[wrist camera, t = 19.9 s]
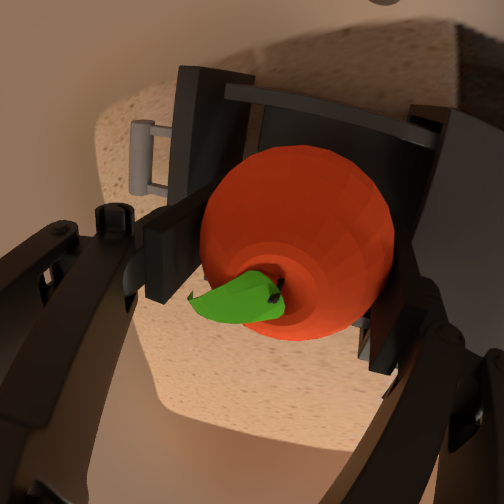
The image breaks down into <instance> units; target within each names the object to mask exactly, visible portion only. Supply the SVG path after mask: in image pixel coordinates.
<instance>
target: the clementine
mask: <svg viewBox="0 0 504 504" xmlns="http://www.w3.org/2000/svg"><path fill="white" fill-rule="evenodd" d="M393 253H394V227H393V223H392V219H391V215H390V211H389V207H388V205H387V203H386V202H385V200H384V198H383V197H382V195H381V193H380V192H379V190H378V188H377V187H376V185H375V183H374V182H373V181H372V180H371V179H370V178H369V177H368V176H367V175H366V174H365V173H364V172H363V171H362V170H361V169H360V168H359V167H358V166H356V165H355V164H354V163H353V162H352V161H350V160H348V159H346V158H344V157H342V156H340V155H338V154H337V153H335V152H333V151H331V150H327V149H323V148H318V147H313V146H308V145H296V146H282V147H273V148H270V149H267V150H265V151H262V152H259V153H257V154H254V155H251V156H249V157H248V158H246V159H245V160H244V161H242V162H241V163H240V164H238V165H237V166H236V167H234V168H233V169H232V170H231V171H230V172H229V173H228V174H227V175H226V176H225V177H224V179H223V180H222V181H221V183H220V184H219V185H218V187H217V188H216V190H215V191H214V192H213V194H212V195H211V197H210V198H209V200H208V203H207V206H206V209H205V212H204V215H203V218H202V222H201V230H200V252H199V254H200V258H201V263H202V267H203V271H204V275H205V277H206V279H207V280H208V282H209V284H210V286H211V288H212V290H211V291H209V292H207V293H206V294H204V295H202V296H200V297H197V298H194V299H193V291H192V292H191V293H190V295H189V296H188V298H187V299H188V301H189V302H190V304H191V305H192V307H193V308H194V309H195V311H196V312H197V314H199V315H201V316H203V317H205V318H207V319H210V320H213V321H216V322H222V323H230V324H240V323H241V324H243V325H244V326H246V327H248V328H249V329H251V330H253V331H255V332H257V333H259V334H261V335H265V336H268V337H272V338H275V339H279V340H289V341H303V340H310V339H317V338H321V337H325V336H328V335H331V334H333V333H336V332H338V331H341V330H343V329H346V328H347V327H348V326H350V325H351V324H352V323H354V322H355V321H357V320H358V319H359V318H361V317H362V316H363V315H364V314H365V312H366V311H367V310H368V309H369V308H370V307H371V305H372V304H373V303H374V301H375V300H376V299H377V297H378V296H379V295H380V293H381V292H382V291H383V289H384V287H385V285H386V282H387V279H388V277H389V274H390V271H391V268H392V263H393Z"/></svg>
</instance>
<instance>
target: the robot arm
mask: <svg viewBox="0 0 504 504" xmlns="http://www.w3.org/2000/svg"><path fill="white" fill-rule="evenodd" d="M226 175H227V173H225V174H223V175H221V176H220V177H218V178H216V179H215V180H213V181H211V182H210V183H208V184H207V185H205V186H203V187H202V188H200V189H198V190H197V191H195V192H194V193H192V194H190V195H189V196H187V197H186V198H184V199H183V200H181V201H179V202H178V203H176V204H175V205H173V206H171V205H166V206H163V207H159V208H157V209H155V210H153V211H152V212H150V214H147V215H145V216H144V217H143V218H141V219H139V220H138V221H136V222H135V215H134V208H133V207H132V206H131V205H128V204H125V203H108V204H104V205H101V206H99V207H97V208H96V209H95V218H96V231H97V233H96V234H95V235H94V237H89V236H80V235H79V231H78V225H77V224H76V223H75V222H72V221H67V220H59V221H57V222H53V223H51V224H49V225H47V226H46V227H44V228H43V229H41V230H40V231H38V232H37V233H35V234H34V235H32V236H31V237H29V238H28V239H27V240H25V241H24V242H22V243H21V244H20V245H18V246H17V247H15V248H14V249H13V250H11V251H10V252H9V253H7V254H6V255H4V256H3V257H2V258H0V504H88V501H89V494H88V487H87V471H88V467H89V463H90V458H91V454H92V450H93V446H94V442H95V438H96V434H97V430H98V426H99V423H100V418H101V415H102V412H103V408H104V404H105V401H106V397H107V394H108V390H109V387H110V384H111V380H112V377H113V374H114V370H115V367H116V364H117V361H118V358H119V355H120V352H121V348H122V345H123V343H124V340H125V337H126V333H127V331H128V328H129V325H130V322H131V319H132V316H133V314H134V311H135V308H136V305H137V302H138V290H139V289H140V288H141V287H142V286H143V285H144V284H145V297H146V298H148V299H151V300H153V301H156V302H158V303H161V304H163V305H164V304H165V303H166V302H167V301H168V300H169V299H170V298H171V297H172V295H173V294H174V293H175V292H176V291H177V290H178V289H179V288H180V287H181V285H182V284H183V283H184V282H185V281H186V280H187V279H188V278H189V277H190V275H191V274H192V273H193V272H194V271H195V270H196V269H197V268H198V267H199V266H200V265H201V258H200V254H199V252H200V230H201V222H202V218H203V215H204V212H205V209H206V206H207V203H208V200H209V198H210V197H211V195H212V194H213V192H214V191H215V190H216V188H217V187H218V185H219V184H220V183H221V181H222V180H223V179H224V177H225V176H226ZM391 219H392V223H393V227H394V253H393V263H392V268H391V271H390V274H389V277H388V279H387V282H386V285H385V287H384V289H383V291H382V292H381V293H380V295H379V296H378V297H377V299H376V300H375V301H374V303H373V304H372V305H371V328H370V354H369V371H372V372H376V373H380V374H384V375H389V376H390V375H391V373H392V372H393V370H394V369H395V367H396V366H397V364H398V375H397V377H396V378H395V379H394V381H393V382H392V384H391V385H390V387H389V388H388V390H387V391H386V392H385V394H384V395H383V397H382V399H384V400H383V402H382V403H381V405H380V407H379V409H378V411H377V413H376V415H375V416H374V418H373V420H372V422H371V424H370V425H369V427H368V429H367V431H366V432H365V434H364V436H363V437H362V439H361V441H360V442H359V444H358V446H357V447H356V449H355V451H354V452H353V454H352V455H351V457H350V459H349V460H348V462H347V463H346V465H345V466H344V468H343V469H342V471H341V472H340V474H339V475H338V477H337V478H336V480H335V481H334V483H333V484H332V485H331V487H330V488H329V490H328V491H327V492H326V494H325V495H324V497H323V498H322V499H321V501H320V502H319V503H318V504H419V502H420V500H421V498H422V495H423V493H424V491H425V488H426V486H427V483H428V481H429V478H430V476H431V473H432V471H433V468H434V465H435V462H436V460H437V457H438V454H439V462H438V471H437V480H436V487H435V494H434V501H433V504H504V351H502V350H500V349H497V348H492V349H489V350H488V352H487V353H486V354H485V356H484V357H481V356H479V355H477V354H475V353H473V352H472V351H470V350H468V349H466V348H465V345H466V343H465V338H464V336H463V334H462V332H461V331H460V330H459V329H458V328H457V327H455V326H454V325H452V324H451V323H449V320H448V317H447V313H446V310H445V306H444V305H443V300H442V298H441V293H440V290H439V287H438V286H437V285H436V284H435V282H434V281H433V280H432V279H430V278H427V277H424V276H421V275H420V271H419V268H418V264H417V260H416V257H415V253H414V250H413V247H412V243H411V240H410V237H409V234H408V231H407V228H406V225H405V222H404V221H401V220H397V219H394V218H391ZM48 268H49V270H50V275H51V279H52V281H51V282H49V283H48V284H46V282H45V278H44V274H43V272H45V271H46V270H47V269H48ZM482 415H483V417H482V423H481V425H480V417H481V416H482Z"/></svg>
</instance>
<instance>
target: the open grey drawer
mask: <svg viewBox="0 0 504 504" xmlns="http://www.w3.org/2000/svg"><path fill="white" fill-rule="evenodd" d="M254 82H255V76H254V75H249V74H244V73H238V72H233V71H227V70H221V69H214V68H207V67H200V66H183V65H182V66H179V70H178V78H177V86H176V94H175V104H174V113H173V123H172V127H167V126H159V125H155V121H152V120H134V121H132V122H131V130H130V153H129V193H130V194H131V195H135V196H144V195H148V194H154V195H158V196H162V197H166V198H167V205H171V206H173V205H175V204H176V203H178V202H179V201H181V200H183V199H184V198H186V197H187V196H189V195H190V194H192V193H194V192H195V191H197V190H198V189H200V188H202V187H203V186H205V185H207V184H208V183H210V182H211V181H213V180H215V179H216V178H218V177H220V176H221V175H223V174H225V173H227V174H228V173H229V172H230V171H231V170H232V169H233V168H234V167H236V166H237V165H238V164H240V163H241V162H242V160H243V153H244V147H245V140H246V134H247V127H248V120H249V114H250V108H251V103H254V104H260V105H265V109H264V115H263V122H262V128H261V134H260V140H259V146H258V152H257V153H259V152H262V151H265V150H267V149H270V148H273V147H282V146H296V145H308V146H313V147H318V148H323V149H327V150H331V151H333V152H335V153H337V154H338V155H340V156H342V157H344V158H346V159H348V160H350V161H352V162H353V163H354V164H355V165H356V166H358V167H359V168H360V169H361V170H362V171H363V172H364V173H365V174H366V175H367V176H368V177H369V178H370V179H371V180H372V181H373V182H374V183H375V185H376V187H377V188H378V190H379V192H380V193H381V195H382V197H383V198H384V200H385V202H386V203H387V205H388V207H389V211H390V215H391V218H394V219H397V220H401V221H404V222H405V225H406V228H407V231H408V234H409V233H410V231H411V228H412V225H413V222H414V220H415V217H416V214H417V211H418V208H419V205H420V202H421V199H422V196H423V193H424V190H425V187H426V184H427V180H428V177H429V174H430V170H431V167H432V164H433V160H434V157H435V153H436V149H437V146H438V142H439V138H440V134H441V133H439V132H437V131H434V130H431V129H429V128H426V127H423V126H420V125H417V124H415V123H412V122H409V121H406V120H403V119H400V118H396V117H393V116H390V115H387V114H384V113H380V112H377V111H373V110H370V109H366V108H363V107H359V106H355V105H351V104H348V103H344V102H340V101H335V100H331V99H327V98H323V97H318V96H313V95H309V94H304V93H299V92H294V91H288V90H283V89H277V88H271V87H263V86H254ZM154 135H155V136H162V137H168V138H171V147H170V160H169V175H168V186H165V185H160V184H156V183H152V161H153V144H154ZM204 280H206V281H208V280H207V279H206V277H205V275H204ZM351 325H352V326H356V327H359V328H363V329H367V330H368V329H369V327H370V325H371V307H370V308H369V309H368V310H367V311H366V312H365V314H364V315H363V316H362V317H361V318H359V319H358V320H357V321H355V322H354V323H352V324H351Z"/></svg>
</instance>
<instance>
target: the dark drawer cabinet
mask: <svg viewBox="0 0 504 504" xmlns="http://www.w3.org/2000/svg"><path fill="white" fill-rule="evenodd" d="M407 121H409V122H412V123H415V124H417V125H420V126H423V127H426V128H429V129H431V130H434V131H437V132H439V133H441V134H440V138H439V142H438V146H437V149H436V153H435V157H434V160H433V164H432V167H431V170H430V174H429V177H428V180H427V184H426V187H425V190H424V193H423V196H422V199H421V202H420V205H419V208H418V211H417V214H416V217H415V220H414V222H413V225H412V228H411V231H410V233H409V237H410V240H411V243H412V247H413V250H414V253H415V257H416V260H417V264H418V268H419V271H420V275H421V276H424V277H427V278H430V279H432V280H433V281H434V282H435V284H436V285H437V286H438V287H439V290H440V293H441V298H442V300H443V305H444V306H445V310H446V313H447V317H448V320H449V323H451V324H452V325H454V326H455V327H457V328H458V329H459V330H460V331H461V332H462V334H463V336H464V338H465V343H466V345H465V348H466V349H468V350H470V351H472V352H473V353H475V354H477V355H479V356H481V357H484V356H485V354H486V353H487V352H488V350H489V349H492V348H497V349H500V350H502V351H504V131H503V130H501V129H499V128H497V127H495V126H493V125H491V124H488V123H486V122H484V121H482V120H480V119H478V118H475V117H473V116H471V115H469V114H466V113H464V112H462V111H459V110H457V109H454V108H450V107H442V106H431V105H418V104H411V105H410V109H409V113H408V118H407ZM370 328H371V325H370V327H369V329H368V330H367V329H363V328H360V335H359V349H358V359H361V360H365V361H369V354H370ZM395 368H396V369H398V364H397V366H396V367H395Z"/></svg>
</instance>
